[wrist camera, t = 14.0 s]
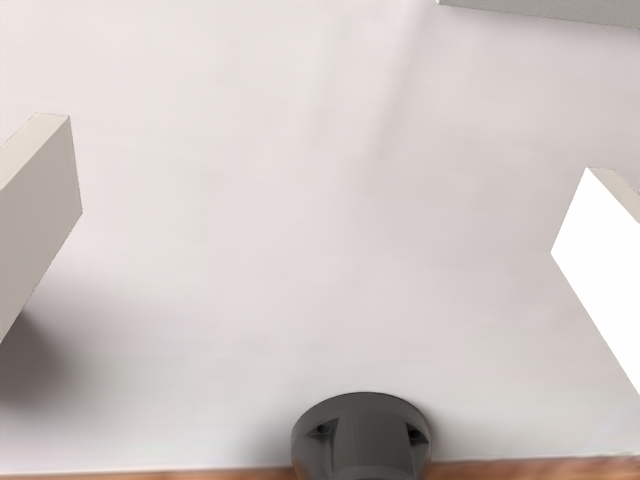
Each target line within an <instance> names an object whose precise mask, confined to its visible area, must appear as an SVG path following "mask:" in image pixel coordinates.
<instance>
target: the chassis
mask: <svg viewBox="0 0 640 480" xmlns="http://www.w3.org/2000/svg"><path fill="white" fill-rule="evenodd" d="M435 1H436V2H437V3H438V4H441V5H449V6H457V7H465V8H474V9H482V10H490V11H498V12H507V13H515V14H523V15H531V16H539V17H548V18H556V19H564V20H572V21H581V22H589V23H597V24H605V25H614V26H622V27H630V28H638V29H640V0H435Z"/></svg>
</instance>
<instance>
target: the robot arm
mask: <svg viewBox="0 0 640 480" xmlns="http://www.w3.org/2000/svg"><path fill="white" fill-rule="evenodd" d="M81 215H82V205H81V198H80V190H79V183H78V176H77V168H76V161H75V153H74V146H73V138H72V131H71V123H70V116H66V115H56V114H46V113H36V114H35V115H34V116H33V117H32V118H31V119H29V120H28V121H27V122H26V123H25V124H24V125H23V126H22V127H21V128H20V129H19V130H18V131H17V132H16V133H15V134H14V135H13V136H11V137H10V138H9V139H8V140H7V141H6V142H5V143H4V144H3V145H2V146H1V147H0V343H1V342H2V340H3V339H4V337H5V336H6V334H7V332H8V331H9V329H10V328H11V326H12V324H13V323H14V321H15V320H16V318H17V316H18V315H19V313H20V312H21V310H22V308H23V307H24V305H25V304H26V302H27V300H28V299H29V297H30V296H31V294H32V293H33V291H34V289H35V288H36V286H37V285H38V283H39V281H40V280H41V278H42V277H43V275H44V273H45V272H46V270H47V269H48V267H49V265H50V264H51V262H52V261H53V259H54V258H55V256H56V254H57V253H58V251H59V250H60V248H61V246H62V245H63V243H64V242H65V240H66V238H67V237H68V235H69V234H70V232H71V230H72V229H73V227H74V226H75V224H76V223H77V221H78V219H79V218H80V216H81ZM551 254H552V256H553V257H554V259H555V261H556V262H557V264H558V265H559V267H560V269H561V270H562V272H563V273H564V275H565V277H566V278H567V280H568V281H569V283H570V285H571V286H572V288H573V289H574V291H575V293H576V294H577V296H578V297H579V299H580V301H581V302H582V304H583V305H584V307H585V309H586V310H587V312H588V313H589V315H590V317H591V318H592V320H593V321H594V323H595V325H596V326H597V328H598V329H599V331H600V333H601V334H602V336H603V337H604V339H605V341H606V342H607V344H608V345H609V347H610V349H611V350H612V352H613V353H614V355H615V357H616V358H617V360H618V361H619V363H620V365H621V366H622V368H623V369H624V371H625V373H626V374H627V376H628V377H629V379H630V381H631V382H632V384H633V385H634V387H635V389H636V390H637V392H638V393H639V395H640V195H639V194H638V193H637V192H636V191H635V190H634V189H633V188H632V187H631V186H630V185H629V184H628V183H627V182H626V181H625V180H624V179H623V178H622V177H621V176H620V175H619V174H618V173H617V172H616V171H615V170H610V169H600V168H590V167H586V170H585V172H584V174H583V177H582V179H581V182H580V184H579V186H578V189H577V191H576V194H575V196H574V198H573V201H572V203H571V206H570V208H569V210H568V213H567V215H566V217H565V220H564V222H563V225H562V227H561V229H560V232H559V234H558V237H557V239H556V241H555V244H554V246H553V249H552V251H551ZM431 455H432V444H431V439H430V434H429V430H428V426H427V423H426V421H425V419H424V417H423V416H422V414H421V413H420V412H419V411H418V410H417V409H415V408H414V407H413V406H411V405H410V404H408V403H406V402H405V401H402V400H400V399H398V398H395V397H392V396H388V395H383V394H376V393H354V394H346V395H341V396H337V397H334V398H331V399H328V400H325V401H323V402H321V403H319V404H317V405H315V406H314V407H312V408H311V409H309V410H308V411H307V412H306V413H304V414H303V415H302V416H301V417H300V419H299V420H298V421H297V423H296V424H295V426H294V429H293V431H292V436H291V459H292V464H293V468H294V471H295V473H296V476H297V479H298V480H428V476H429V469H430V462H431Z"/></svg>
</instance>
